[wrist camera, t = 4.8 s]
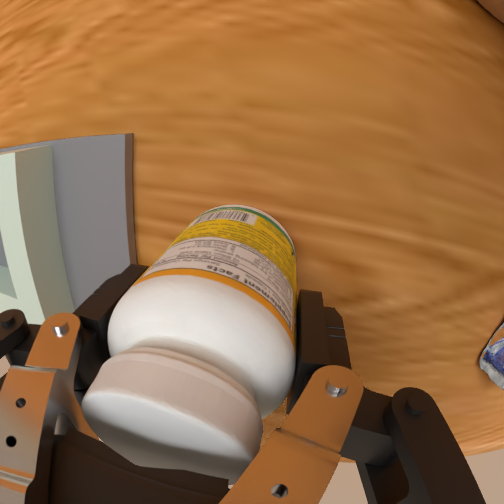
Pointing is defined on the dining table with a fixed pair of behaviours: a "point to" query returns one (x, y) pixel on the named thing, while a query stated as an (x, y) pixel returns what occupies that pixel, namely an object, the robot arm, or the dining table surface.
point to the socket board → (64, 221)
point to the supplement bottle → (201, 348)
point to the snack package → (494, 361)
